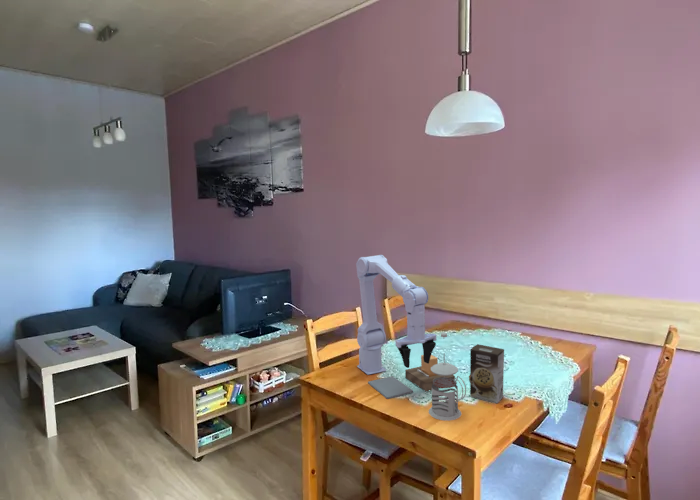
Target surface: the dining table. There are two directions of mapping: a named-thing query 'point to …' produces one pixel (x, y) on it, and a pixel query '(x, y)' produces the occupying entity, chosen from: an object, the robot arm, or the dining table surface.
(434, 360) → the orange brown block
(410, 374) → the brown wooden tray
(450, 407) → the french press
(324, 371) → the dining table surface
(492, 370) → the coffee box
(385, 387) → the mat
